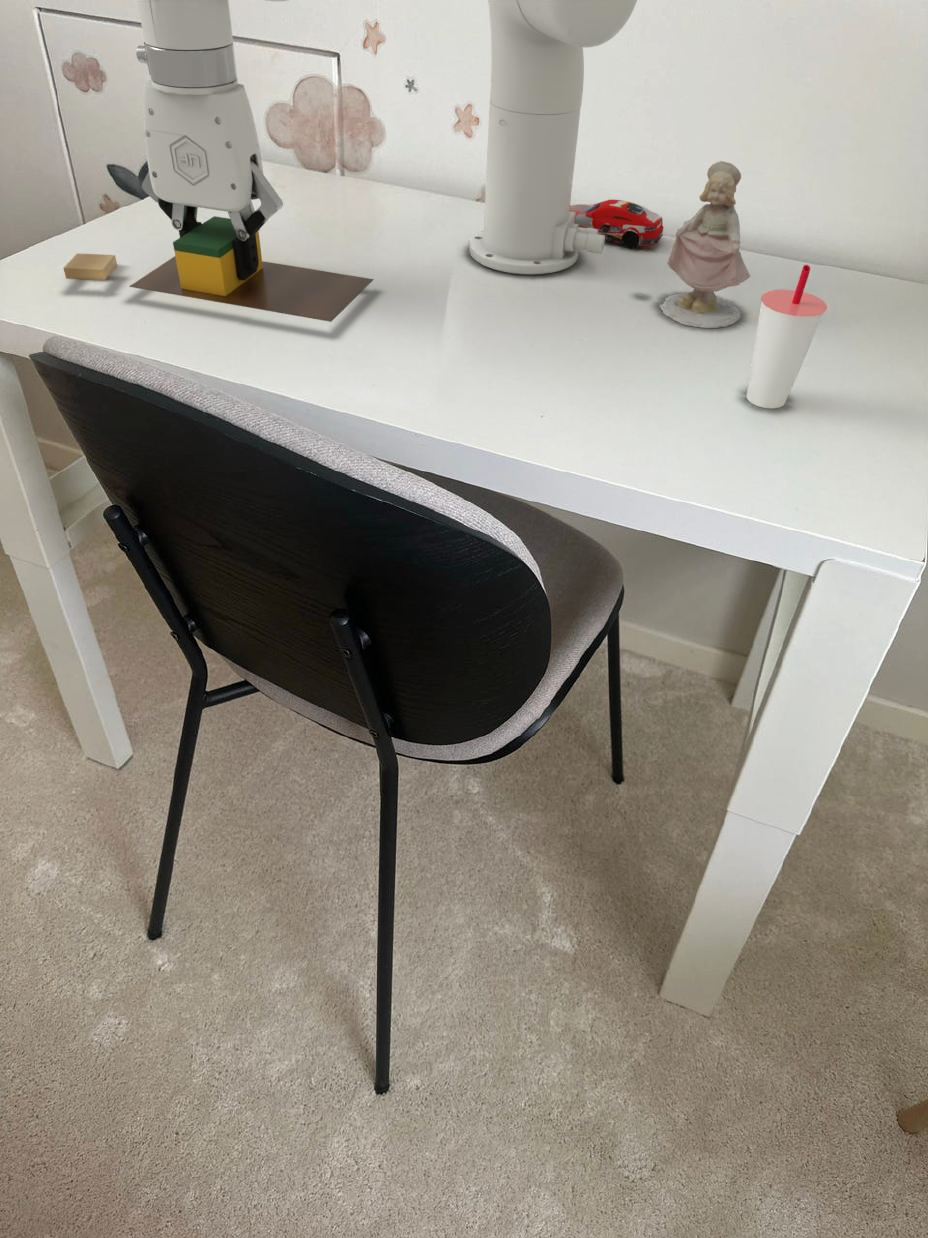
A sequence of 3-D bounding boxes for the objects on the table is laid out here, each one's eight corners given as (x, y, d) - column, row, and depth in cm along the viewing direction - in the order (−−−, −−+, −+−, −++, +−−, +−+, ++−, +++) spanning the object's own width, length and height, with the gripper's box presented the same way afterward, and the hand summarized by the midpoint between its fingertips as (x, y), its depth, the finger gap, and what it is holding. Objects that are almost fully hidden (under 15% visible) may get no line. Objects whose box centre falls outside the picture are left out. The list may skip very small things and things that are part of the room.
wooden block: (120, 278, 94) (115, 254, 93) (108, 293, 91) (102, 269, 90) (83, 276, 94) (76, 252, 93) (69, 292, 91) (63, 267, 90)
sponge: (263, 267, 94) (257, 222, 91) (225, 296, 88) (218, 249, 85) (220, 260, 95) (214, 215, 92) (181, 288, 89) (172, 241, 86)
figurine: (628, 318, 90) (660, 152, 84) (637, 311, 99) (667, 161, 92) (737, 335, 88) (778, 166, 82) (736, 326, 97) (773, 174, 90)
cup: (796, 418, 77) (840, 281, 69) (733, 408, 78) (769, 272, 70) (796, 390, 81) (838, 257, 73) (736, 380, 82) (771, 248, 74)
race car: (547, 234, 109) (550, 199, 106) (563, 220, 112) (566, 186, 110) (652, 253, 105) (658, 218, 102) (664, 239, 108) (670, 204, 106)
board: (374, 292, 94) (373, 278, 93) (332, 335, 86) (331, 321, 85) (188, 262, 98) (185, 248, 97) (132, 300, 90) (129, 286, 89)
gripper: (84, 64, 78) (129, 271, 90) (259, 86, 75) (281, 298, 87) (132, 48, 83) (169, 246, 96) (298, 68, 80) (314, 270, 92)
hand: (222, 269), depth 91 cm, fingers closed on sponge, 5 cm apart
